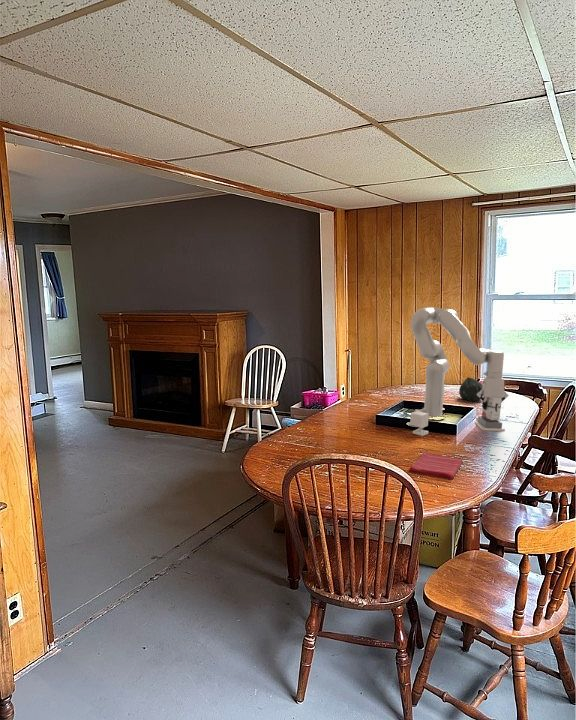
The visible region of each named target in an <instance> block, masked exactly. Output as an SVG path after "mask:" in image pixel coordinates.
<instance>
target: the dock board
mask: <svg viewBox="0 0 576 720" xmlns="http://www.w3.org/2000/svg"><path fill="white" fill-rule="evenodd" d="M474 424H475V425H476V426H478V427H479V429H481V430H482V431H492V432H493V431H496V432H497V431H499V432H505V430H506V429H505V428H504V427H503V422H502V421H501V420H490V419H488V418H485V417H483V416H482V415H478V417H477V420H474Z"/></svg>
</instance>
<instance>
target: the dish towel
mask: <svg viewBox="0 0 576 720" xmlns="http://www.w3.org/2000/svg"><path fill="white" fill-rule="evenodd" d="M462 463H463V459H462V458H457V457H452V456H446V455H440V454H434V453H429V452H426V451H422V454H421V456H419V458H417V460H416V461H415V462H414V463H413V465H411V466H410V467H409V469H408V472H411V473H415V474H420V475H425V476H429V477H430V476H431V477H435V478H439V479H445V480H450V481H452V480H453V478H454V477H455V476H456V474H457V473H458V471H459V469H460V468H461V466H462Z"/></svg>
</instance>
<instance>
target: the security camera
mask: <svg viewBox="0 0 576 720" xmlns="http://www.w3.org/2000/svg"><path fill="white" fill-rule="evenodd" d="M428 418H429V414H428V413H423V412H419V411H416V412H415V411H413V412H411V413H410V421H409V422H410V423H409V425H410V426H414V427H417V429H415V430H412V434H415V435H417V436H422V437H423V436H426V435H428V434H429V430H425V429H424V428H425V427H428V426H429V420H428Z"/></svg>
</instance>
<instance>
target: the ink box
mask: <svg viewBox="0 0 576 720" xmlns="http://www.w3.org/2000/svg"><path fill="white" fill-rule="evenodd" d="M486 402H487V406H486V410H484V409H483V408H481V409H482V410H481V411H482V412H481V416H483V417H485V418H488V419H490V420H499V421H501V420H500V419H501V408H502V403H501V397H491V398H490V397H488V398H487V400H486Z"/></svg>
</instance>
